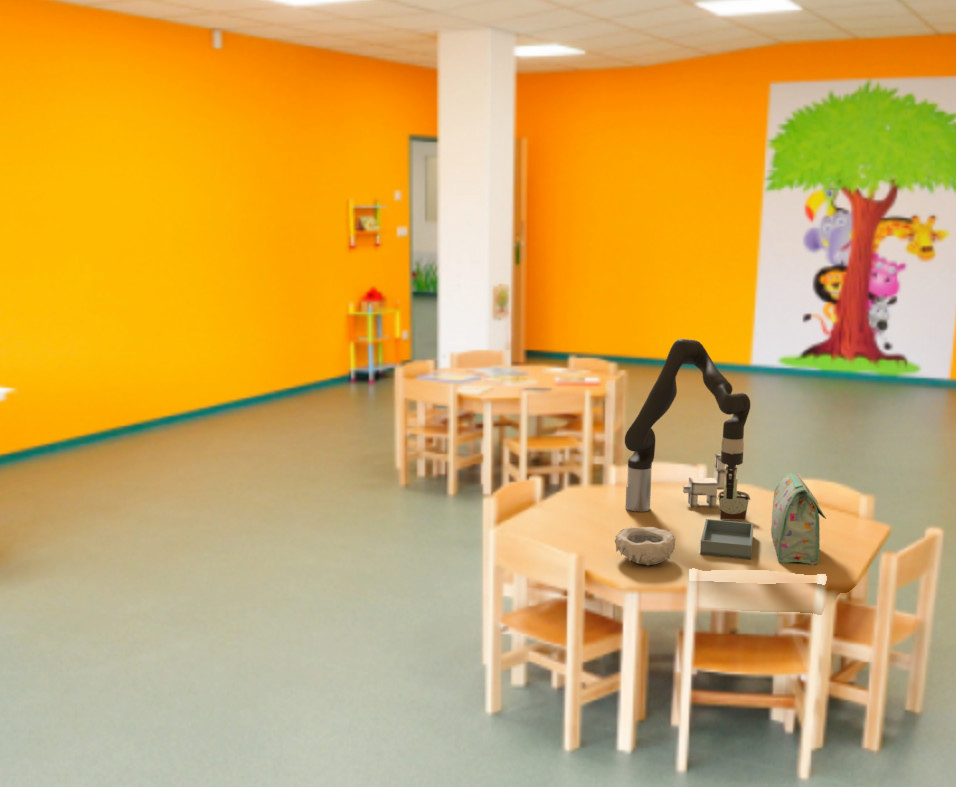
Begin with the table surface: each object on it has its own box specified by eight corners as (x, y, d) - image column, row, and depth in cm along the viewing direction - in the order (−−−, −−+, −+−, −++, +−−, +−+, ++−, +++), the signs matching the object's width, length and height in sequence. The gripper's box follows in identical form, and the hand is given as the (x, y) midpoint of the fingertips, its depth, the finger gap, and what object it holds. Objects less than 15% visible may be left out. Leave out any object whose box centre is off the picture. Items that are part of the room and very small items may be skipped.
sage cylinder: (723, 499, 352) (724, 480, 350) (723, 496, 356) (724, 477, 355) (736, 501, 351) (737, 481, 349) (736, 497, 355) (737, 478, 353)
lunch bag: (824, 566, 337) (830, 490, 331) (773, 563, 340) (778, 487, 334) (814, 543, 359) (819, 470, 354) (766, 540, 362) (771, 468, 356)
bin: (700, 554, 348) (700, 540, 347) (705, 531, 371) (705, 518, 369) (750, 559, 343) (751, 545, 342) (752, 536, 366) (753, 523, 365)
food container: (746, 515, 389) (748, 490, 387) (749, 520, 383) (750, 495, 381) (714, 514, 390) (715, 489, 388) (716, 519, 384) (717, 494, 382)
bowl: (682, 571, 332) (684, 543, 330) (622, 573, 331) (623, 544, 329) (666, 549, 353) (667, 522, 351) (609, 551, 351) (610, 523, 349)
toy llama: (681, 501, 406) (683, 453, 402) (725, 501, 405) (727, 454, 401) (684, 507, 399) (686, 458, 395) (728, 507, 398) (731, 459, 394)
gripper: (722, 444, 357) (720, 489, 361) (720, 454, 344) (717, 501, 348) (744, 445, 355) (741, 491, 359) (742, 455, 342) (739, 503, 345)
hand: (729, 496), depth 353 cm, fingers closed on sage cylinder, 4 cm apart
